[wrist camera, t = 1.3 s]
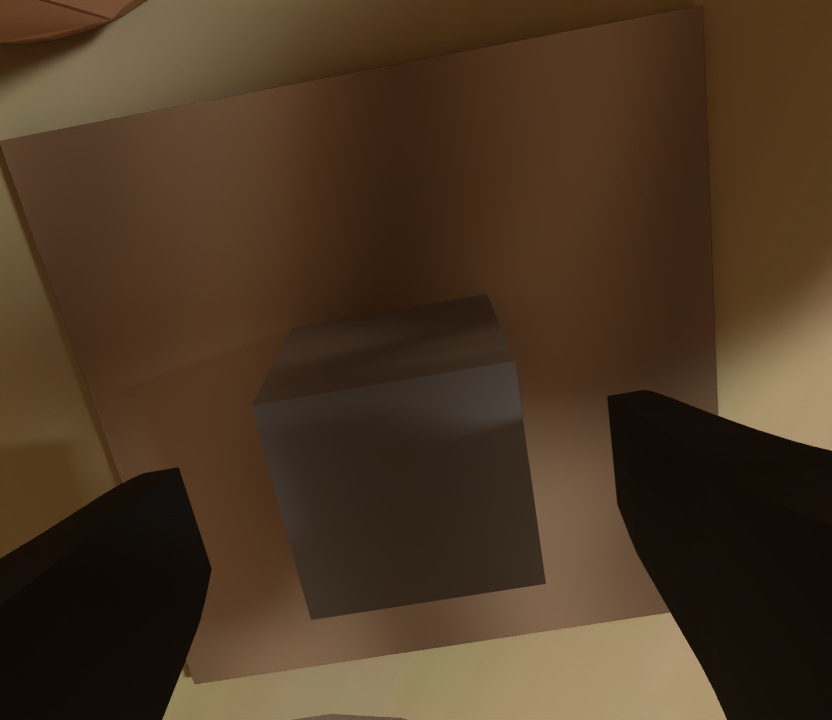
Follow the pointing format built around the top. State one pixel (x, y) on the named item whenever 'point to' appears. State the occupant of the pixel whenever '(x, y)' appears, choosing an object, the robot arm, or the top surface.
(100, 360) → the lid
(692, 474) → the robot arm
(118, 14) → the pot
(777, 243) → the top surface
